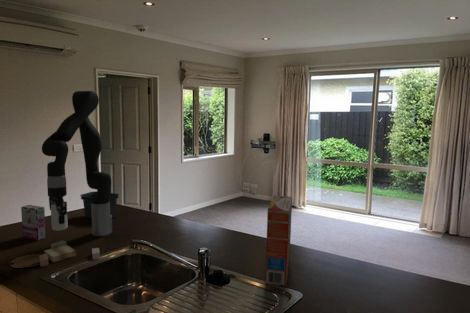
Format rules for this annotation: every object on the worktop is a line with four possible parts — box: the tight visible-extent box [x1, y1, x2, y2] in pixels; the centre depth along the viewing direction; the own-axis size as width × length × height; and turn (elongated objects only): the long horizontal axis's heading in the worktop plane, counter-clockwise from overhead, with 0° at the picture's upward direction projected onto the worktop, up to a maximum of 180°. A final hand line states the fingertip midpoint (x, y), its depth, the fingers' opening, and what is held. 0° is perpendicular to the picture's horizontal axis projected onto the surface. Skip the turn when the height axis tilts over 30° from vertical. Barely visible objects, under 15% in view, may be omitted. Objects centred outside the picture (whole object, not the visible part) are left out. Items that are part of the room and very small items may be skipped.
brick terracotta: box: [38, 253, 49, 267], centre depth 156 cm, size 6×3×3 cm, turn 32°
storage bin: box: [79, 190, 120, 219], centre depth 221 cm, size 21×16×14 cm
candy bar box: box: [21, 204, 47, 241], centre depth 184 cm, size 11×5×16 cm, turn 68°
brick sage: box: [50, 240, 67, 249], centre depth 172 cm, size 6×3×3 cm, turn 151°
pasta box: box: [264, 195, 293, 287], centre depth 150 cm, size 23×8×30 cm, turn 168°
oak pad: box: [43, 244, 77, 263], centre depth 164 cm, size 10×10×2 cm
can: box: [50, 200, 69, 232], centre depth 162 cm, size 6×6×12 cm
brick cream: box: [91, 247, 101, 260], centre depth 164 cm, size 6×3×3 cm
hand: (58, 221), depth 162 cm, fingers closed on can, 6 cm apart
